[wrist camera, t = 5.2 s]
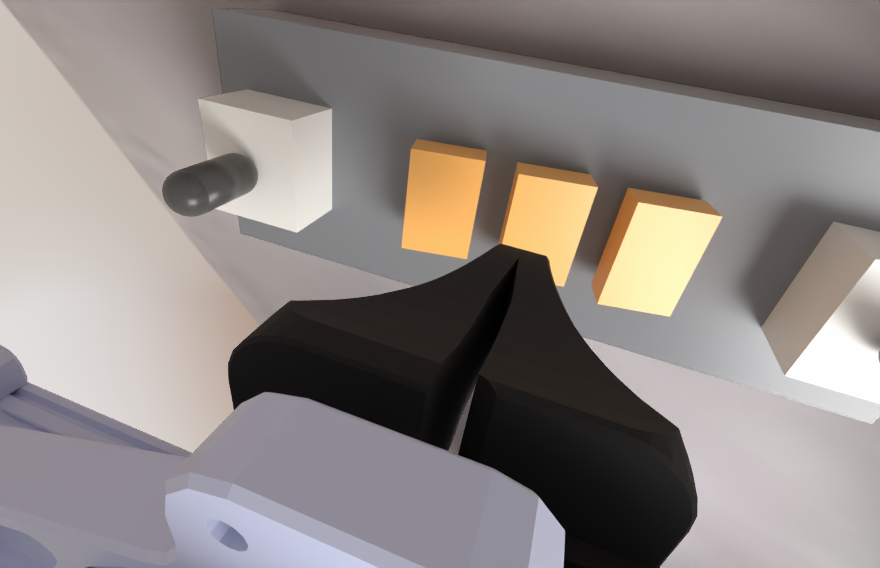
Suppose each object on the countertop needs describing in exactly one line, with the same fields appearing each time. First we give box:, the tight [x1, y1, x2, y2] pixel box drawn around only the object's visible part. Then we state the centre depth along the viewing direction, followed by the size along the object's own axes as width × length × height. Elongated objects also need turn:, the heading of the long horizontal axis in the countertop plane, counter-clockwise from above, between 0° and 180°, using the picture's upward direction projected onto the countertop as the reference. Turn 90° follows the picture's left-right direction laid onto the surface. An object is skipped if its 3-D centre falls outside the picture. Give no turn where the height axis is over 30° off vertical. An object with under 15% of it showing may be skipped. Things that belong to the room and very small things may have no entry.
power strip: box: [212, 8, 880, 424], centre depth 17 cm, size 9×26×4 cm, turn 83°
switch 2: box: [591, 188, 723, 317], centre depth 14 cm, size 4×2×1 cm, turn 173°
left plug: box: [162, 89, 332, 233], centre depth 15 cm, size 4×4×6 cm
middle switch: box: [498, 162, 598, 287], centre depth 15 cm, size 4×2×1 cm, turn 173°
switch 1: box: [401, 139, 487, 259], centre depth 15 cm, size 4×2×1 cm, turn 173°
